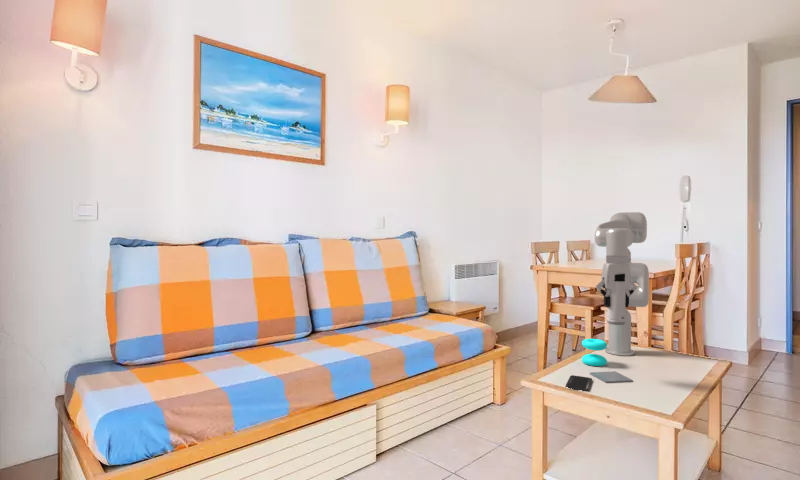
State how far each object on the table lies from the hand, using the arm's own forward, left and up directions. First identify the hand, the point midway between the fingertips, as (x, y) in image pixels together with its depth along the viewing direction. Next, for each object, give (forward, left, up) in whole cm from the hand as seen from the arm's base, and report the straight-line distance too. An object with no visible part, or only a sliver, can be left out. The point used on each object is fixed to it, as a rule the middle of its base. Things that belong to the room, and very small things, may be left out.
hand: (616, 306), depth 177 cm
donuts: (-19, -1, -28) cm, 34 cm away
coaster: (0, -2, -28) cm, 28 cm away
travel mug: (0, 0, -7) cm, 7 cm away
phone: (+8, -17, -28) cm, 34 cm away
